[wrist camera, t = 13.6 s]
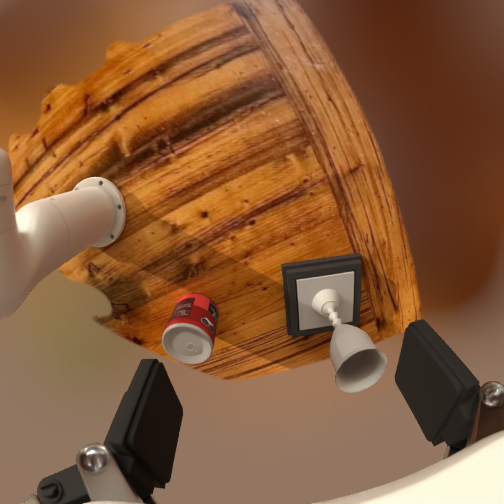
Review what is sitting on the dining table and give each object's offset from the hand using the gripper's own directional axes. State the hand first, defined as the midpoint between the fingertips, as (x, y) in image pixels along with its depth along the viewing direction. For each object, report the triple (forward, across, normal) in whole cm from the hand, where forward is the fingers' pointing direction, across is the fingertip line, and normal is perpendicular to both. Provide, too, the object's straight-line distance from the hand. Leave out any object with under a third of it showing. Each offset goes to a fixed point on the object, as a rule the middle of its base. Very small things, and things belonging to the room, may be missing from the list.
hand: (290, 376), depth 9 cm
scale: (+36, -10, +17) cm, 41 cm away
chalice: (+33, -10, +17) cm, 39 cm away
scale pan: (+35, -10, +17) cm, 40 cm away
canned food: (+36, +13, +17) cm, 42 cm away
